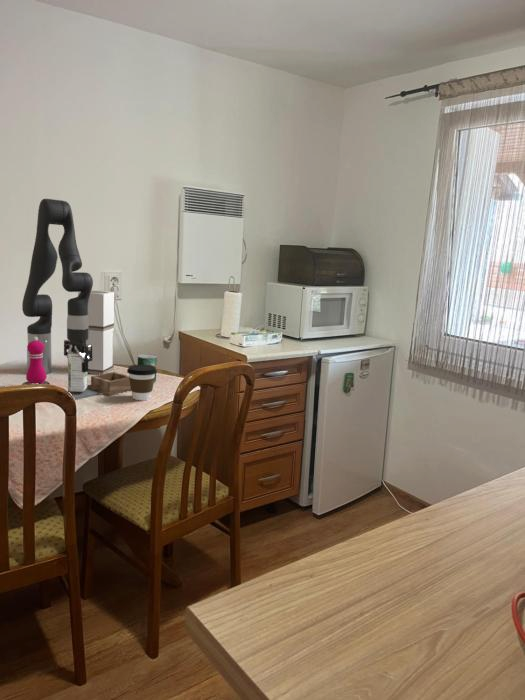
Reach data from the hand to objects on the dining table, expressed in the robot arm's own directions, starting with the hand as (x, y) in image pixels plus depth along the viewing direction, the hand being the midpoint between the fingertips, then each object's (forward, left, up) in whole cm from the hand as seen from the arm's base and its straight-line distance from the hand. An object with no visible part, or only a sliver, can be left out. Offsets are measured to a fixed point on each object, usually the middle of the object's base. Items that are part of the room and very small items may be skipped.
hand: (78, 369), depth 199 cm
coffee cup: (+20, +14, -10) cm, 26 cm away
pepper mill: (-17, -6, -10) cm, 21 cm away
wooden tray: (+3, +14, -9) cm, 17 cm away
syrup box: (0, 0, -8) cm, 8 cm away
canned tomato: (+3, +32, -10) cm, 33 cm away
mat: (0, 0, -9) cm, 9 cm away
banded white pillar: (-24, +27, -10) cm, 37 cm away
